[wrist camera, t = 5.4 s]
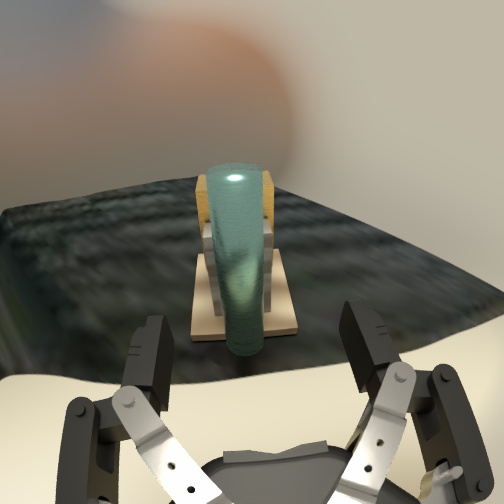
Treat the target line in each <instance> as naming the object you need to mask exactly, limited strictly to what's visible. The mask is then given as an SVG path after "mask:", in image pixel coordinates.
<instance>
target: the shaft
mask: <svg viewBox="0 0 504 504" xmlns="http://www.w3.org/2000/svg"><path fill="white" fill-rule="evenodd" d="M205 176H206V186H207V195H208V205H209V214H210V222H211V231H212V239H213V248H214V256H215V264H216V271H217V279H218V286H219V294H220V301H221V308H222V315H223V322H224V328H225V335H226V342H227V346H228V348H229V350H230V351H231V352H233V353H234V354H236V355H239V356H250V355H253V354H255V353H257V352H258V351H259V350H260V349H261V348H262V346H263V343H264V230H263V170H262V168H261V167H259V166H257V165H254V164H250V163H241V162H236V163H226V164H221V165H217V166H214V167H212V168H210V169H209V170H207V172H206V173H205Z"/></svg>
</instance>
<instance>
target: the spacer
mask: <svg viewBox="0 0 504 504" xmlns="http://www.w3.org/2000/svg"><path fill="white" fill-rule="evenodd" d="M196 199H197V207H198V215H199V223H200V230H201V237H202V245H203V252H204V258H205V265H206V271H208V270H207V263H206V257H205V250H204V243H203V231H204V223H211V222H210V214H209V205H208V195H207V186H206V176H205V174H204V175H199V177H198V182H197V186H196ZM263 219H269V222H270V226H271V230H272V267H273V224H274V185H273V182H272V179H271V177H270V174H269V171H263Z"/></svg>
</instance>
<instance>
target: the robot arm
mask: <svg viewBox="0 0 504 504" xmlns="http://www.w3.org/2000/svg"><path fill="white" fill-rule="evenodd" d="M339 332H340V336H341V339H342V342H343V345H344V348H345V351H346V354H347V356H348V359H349V362H350V365H351V368H352V371H353V374H354V377H355V381H356V383H357V387H358V390H359V393H363V392H368V395H369V398H370V399H369V401H368V403H367V405H366V408H365V410H364V412H363V415H362V417H361V419H360V421H359V423H358V425H357V428H356V430H355V432H354V434H353V435H352V437H351V438H350V440H349V442H348V444H347V446H346V447H345V449H343V448H339V447H336V446H329V445H327V442H326V440H325V441H321V442H314V443H308V444H302V445H299V446H297V447H294V448H291V449H289V450H286V451H283V452H281V453H277V454H272V453H264V452H257V451H251V450H245V451H224V452H223V457H219V458H217V459H214V460H212V461H210V462H208V463H206V464H205V465H204V466H202V467H201V468H199V467H198V465H197V464H196V463H195V462H194V461H193V460H192V459H191V457H190V456H189V455H188V454H187V453H186V451H185V450H184V449H183V448H182V446H181V445H180V444H179V443H178V441H177V440H176V439H175V437H174V436H173V435H172V434H171V432H170V431H169V430H168V428H167V427H166V426H165V424H164V423H163V422H162V420H161V419H160V412H161V411H168V403H169V392H170V381H171V371H172V362H173V353H174V340H173V336H172V333H171V330H170V327H169V324H168V321H167V318H166V316H165V315H158V316H148V318H147V323H146V327H145V328H138V329H137V330H136V332H135V333H134V334H133V336H132V339H131V343H130V348H129V352H128V356H127V361H126V365H125V370H124V375H123V379H122V384H121V387H120V389H119V390H117V391H116V392H115V394H114V395H113V396H112V397H110V398H107V399H103V400H99V401H94V402H92V401H91V400H90V399H88V398H86V397H77V398H75V399H73V400H72V401H71V402H70V403H69V405H68V407H67V410H66V416H65V422H64V428H63V433H62V440H61V447H60V454H59V463H58V473H57V485H56V501H55V504H118V481H119V452H120V441H123V440H128V439H132V440H133V441H134V443H135V445H136V449H137V451H138V453H139V454H140V456H141V457H142V459H143V460H144V462H145V463H146V465H147V466H148V468H149V469H150V470H151V471H152V473H153V474H154V476H155V477H156V479H157V480H158V481H159V482H160V484H161V485H162V486H163V488H164V489H165V490H166V492H167V493H168V494H169V495H170V496H171V498H172V499H173V500H172V501H171V502H170V503H169V504H475V503H478V502H480V501H483V500H485V499H486V498H487V497H488V496H489V495H490V494H491V492H492V490H493V487H494V478H493V474H492V470H491V466H490V463H489V459H488V456H487V452H486V449H485V446H484V443H483V439H482V436H481V433H480V431H479V428H478V425H477V422H476V419H475V416H474V414H473V411H472V408H471V406H470V403H469V401H468V398H467V396H466V393H465V391H464V388H463V386H462V384H461V381H460V379H459V376H458V374H457V372H456V371H455V369H454V368H453V367H451V366H450V365H447V364H439V365H437V366H436V367H435V368H434V370H433V371H420V370H414V369H413V367H412V366H410V365H409V364H407V363H405V362H402V361H401V359H400V357H399V354H398V352H397V350H396V348H395V346H394V343H393V341H392V339H391V337H390V335H389V334H388V331H387V329H386V327H385V324H384V322H383V320H382V318H381V316H380V315H379V314H377V313H376V312H375V311H374V310H373V309H370V310H367V308H366V306H365V303H364V301H363V300H362V299H359V300H351V301H346V302H345V304H344V308H343V312H342V315H341V319H340V323H339ZM406 413H411V416H412V420H413V423H414V426H415V430H416V433H417V437H418V440H419V444H420V448H421V452H422V455H423V460H424V464H425V468H426V472H427V473H426V474H425V475H424V476H423V478H422V480H421V487H420V490H421V492H420V495H419V497H418V499H416V498H415V497H414V496H412V495H411V494H409V493H408V492H406V491H405V490H403V489H402V488H400V487H399V486H397V485H396V484H394V483H393V482H391V481H390V480H389V479H387V478H386V475H387V473H388V470H389V468H390V466H391V463H392V461H393V459H394V456H395V453H396V451H397V449H398V445H399V443H400V440H401V438H402V435H403V432H404V429H405V426H406V422H407V420H406V419H405V415H406Z"/></svg>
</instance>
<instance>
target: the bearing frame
mask: <svg viewBox="0 0 504 504" xmlns="http://www.w3.org/2000/svg"><path fill="white" fill-rule="evenodd" d="M263 230H264V337H267V336H278V335H288V334H297V331H298V326H297V322H296V318H295V313H294V309H293V305H292V301H291V297H290V293H289V289H288V285H287V281H286V277H285V273H284V269H283V265H282V261H281V257H280V254H279V250H278V249H273V267H272V230H271V226H270V222H269V219H263ZM203 243H204V250H205V257H206V263H207V270H208V271H206V265H205V258H204V254H198V261H197V270H196V280H195V290H194V301H193V313H192V325H191V338H192V341H207V340H226V335H225V328H224V322H223V315H222V308H221V301H220V294H219V286H218V279H217V271H216V264H215V256H214V248H213V239H212V231H211V223H204V231H203Z"/></svg>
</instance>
